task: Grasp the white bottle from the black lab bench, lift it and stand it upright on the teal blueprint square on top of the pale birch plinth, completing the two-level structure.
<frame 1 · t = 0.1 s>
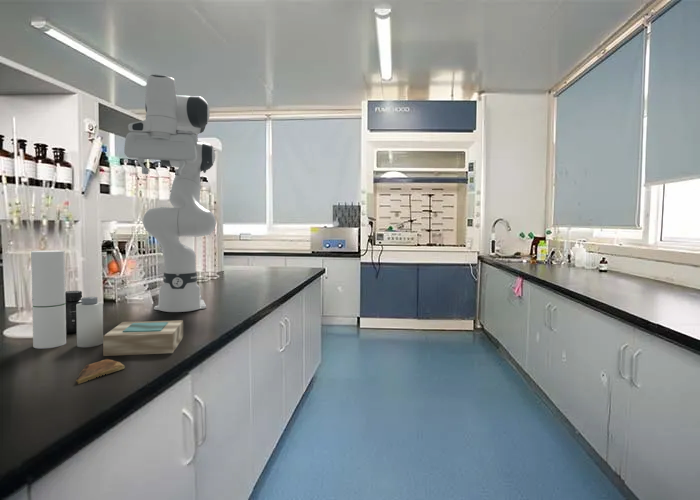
hand: (161, 174, 127), 48 cm above the worktop, fingers open, 8 cm apart
white bottle: (90, 344, 111), on the worktop
shard: (102, 375, 90), on the worktop
supplement bottle: (72, 332, 124), on the worktop
birch plinth: (146, 345, 111), on the worktop
cylindrical container: (50, 345, 110), on the worktop
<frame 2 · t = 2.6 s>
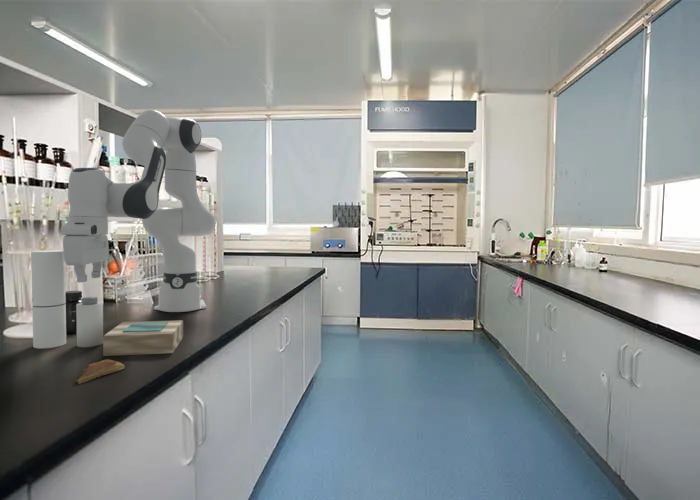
hand: (89, 279, 110), 17 cm above the worktop, fingers open, 8 cm apart
nothing on the worktop moved.
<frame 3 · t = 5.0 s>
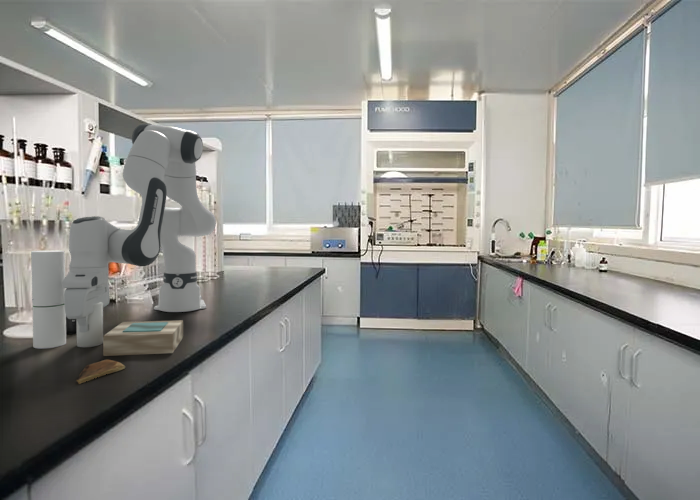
hand: (90, 328, 111), 4 cm above the worktop, fingers closed on white bottle, 6 cm apart
white bottle: (90, 344, 111), on the worktop, touching gripper
everything else where it was.
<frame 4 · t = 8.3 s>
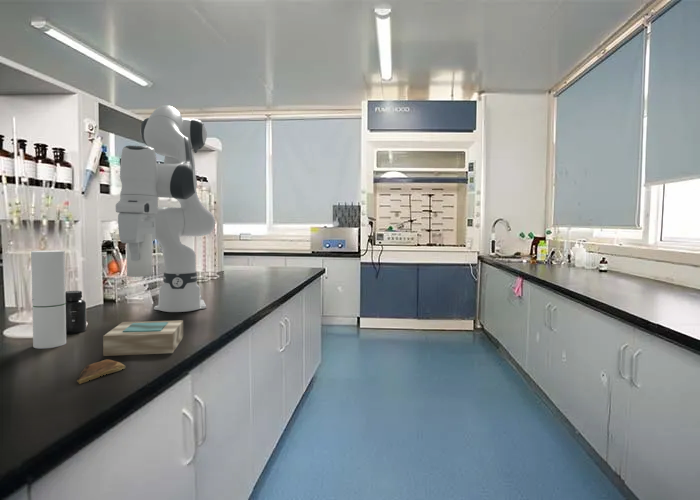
hand: (139, 259, 109), 23 cm above the worktop, fingers closed on white bottle, 6 cm apart
white bottle: (139, 275, 110), point 19 cm above the worktop, touching gripper
everything else where it was.
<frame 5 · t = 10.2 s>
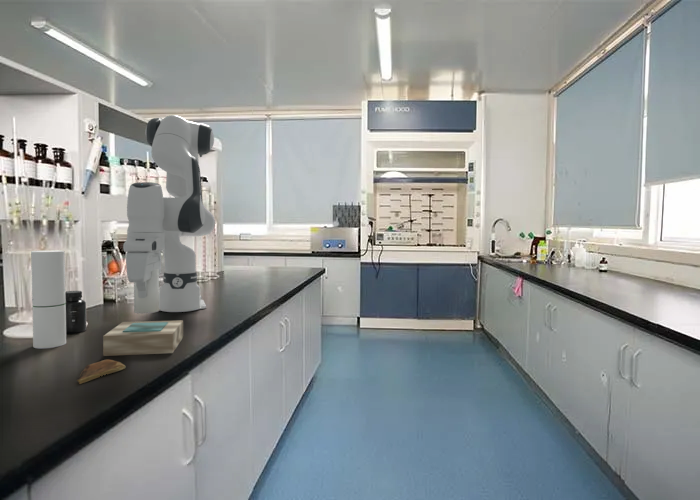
hand: (146, 295, 110), 14 cm above the worktop, fingers closed on white bottle, 6 cm apart
white bottle: (146, 311, 110), point 9 cm above the worktop, touching gripper
everything else where it was.
when the fingers open (11 cm above the worktop, at t = 11.7 s): white bottle drops 1 cm, resting on birch plinth.
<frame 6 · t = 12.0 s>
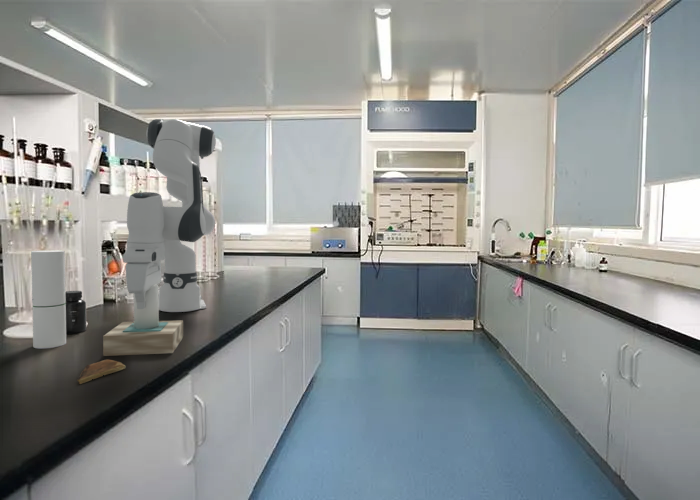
hand: (146, 305, 110), 11 cm above the worktop, fingers open, 8 cm apart
white bottle: (146, 326, 111), point 5 cm above the worktop, touching birch plinth
everything else where it was.
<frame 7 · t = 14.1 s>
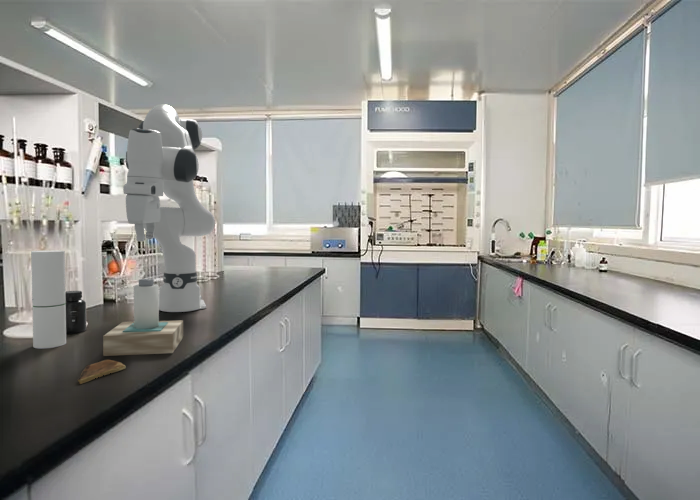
hand: (145, 239, 113), 28 cm above the worktop, fingers open, 8 cm apart
nothing on the worktop moved.
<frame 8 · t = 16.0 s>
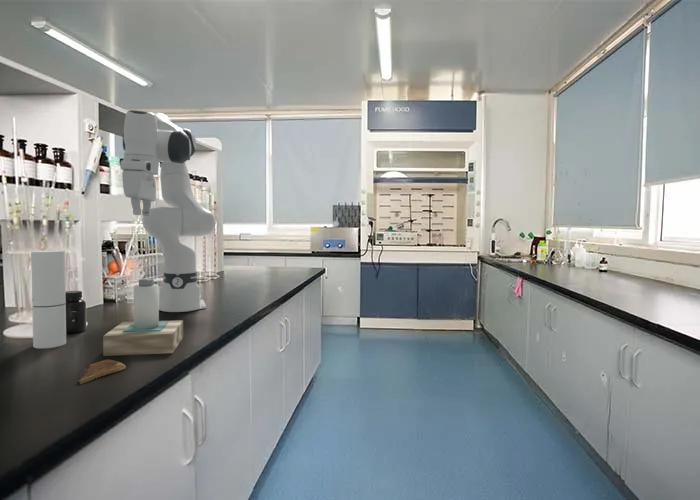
hand: (141, 215, 120), 35 cm above the worktop, fingers open, 8 cm apart
nothing on the worktop moved.
at the end: white bottle inside the target area on the birch plinth (0.1 cm from its centre), point 5.3 cm above the birch plinth's base; white bottle tilted 0°; the gripper is holding nothing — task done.
